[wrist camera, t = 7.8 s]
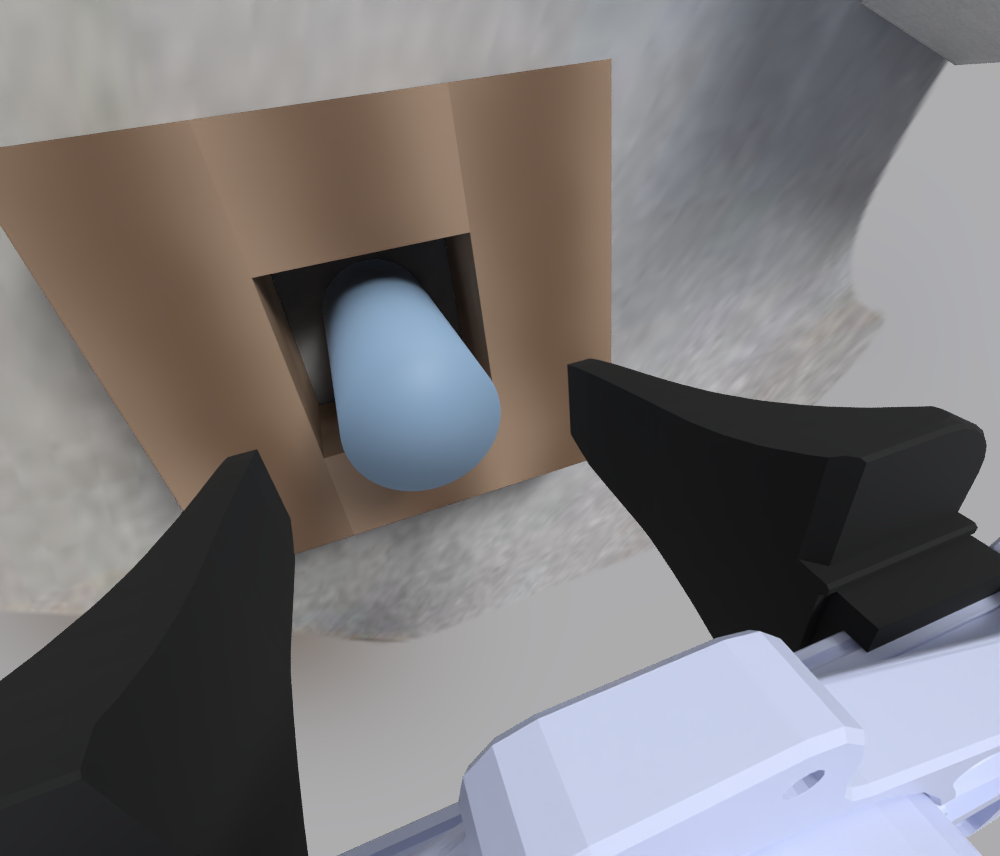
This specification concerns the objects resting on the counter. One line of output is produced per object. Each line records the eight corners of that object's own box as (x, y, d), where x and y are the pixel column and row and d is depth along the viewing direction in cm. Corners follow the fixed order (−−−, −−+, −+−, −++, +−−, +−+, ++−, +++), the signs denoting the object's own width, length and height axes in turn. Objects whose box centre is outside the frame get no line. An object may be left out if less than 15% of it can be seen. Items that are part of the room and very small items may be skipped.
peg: (340, 370, 21) (366, 510, 13) (307, 272, 18) (316, 375, 11) (436, 346, 21) (509, 464, 14) (415, 249, 19) (488, 330, 12)
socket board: (235, 508, 22) (225, 576, 19) (30, 144, 14) (-46, 154, 11) (570, 409, 25) (610, 452, 22) (553, 68, 18) (611, 58, 14)
